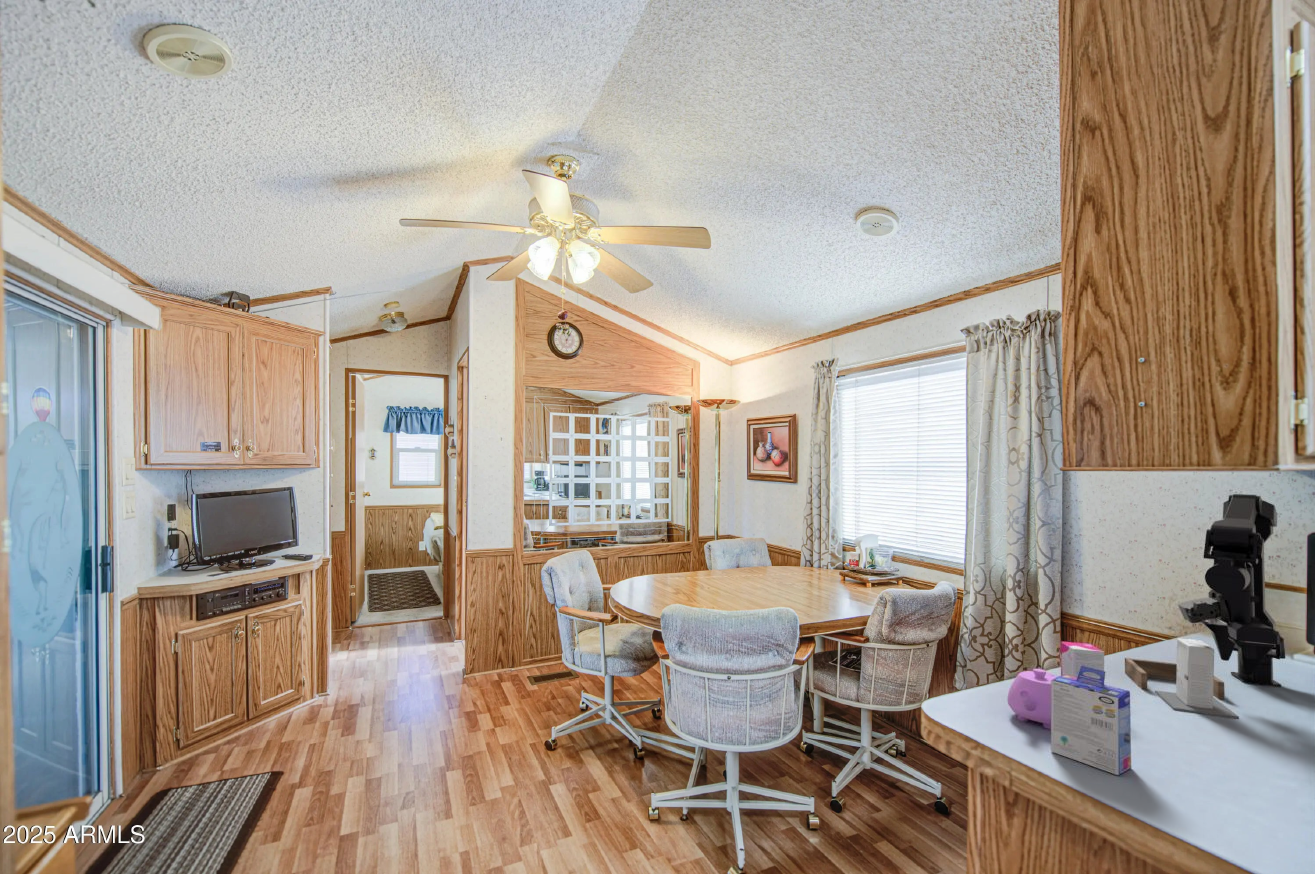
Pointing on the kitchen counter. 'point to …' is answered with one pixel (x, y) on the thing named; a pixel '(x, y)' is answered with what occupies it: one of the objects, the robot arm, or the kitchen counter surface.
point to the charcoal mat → (1181, 706)
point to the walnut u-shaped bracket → (1161, 674)
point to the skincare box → (1195, 673)
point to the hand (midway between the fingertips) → (1235, 667)
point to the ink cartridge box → (1091, 721)
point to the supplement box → (1080, 659)
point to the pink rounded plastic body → (1032, 696)
